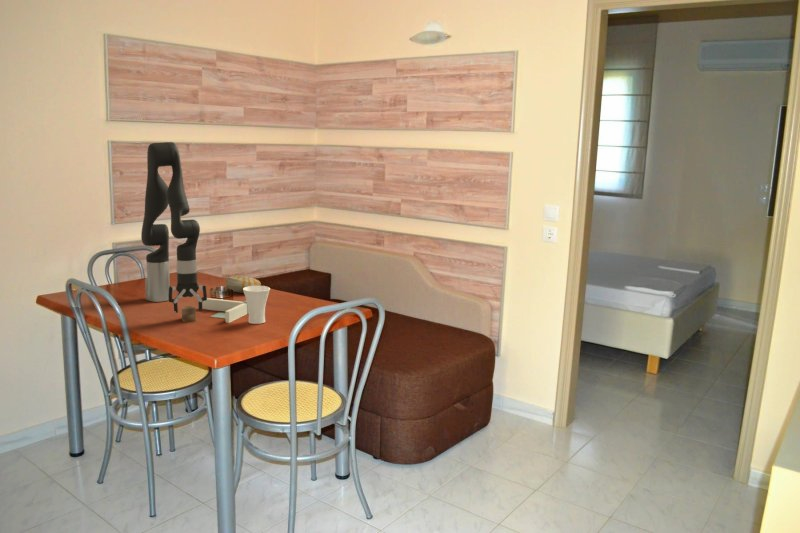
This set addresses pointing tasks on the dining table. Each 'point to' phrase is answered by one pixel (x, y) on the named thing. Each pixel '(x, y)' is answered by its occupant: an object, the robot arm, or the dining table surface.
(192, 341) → the dining table surface
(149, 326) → the dining table surface
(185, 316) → the block
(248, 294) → the cup
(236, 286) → the nautilus
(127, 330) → the dining table surface
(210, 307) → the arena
